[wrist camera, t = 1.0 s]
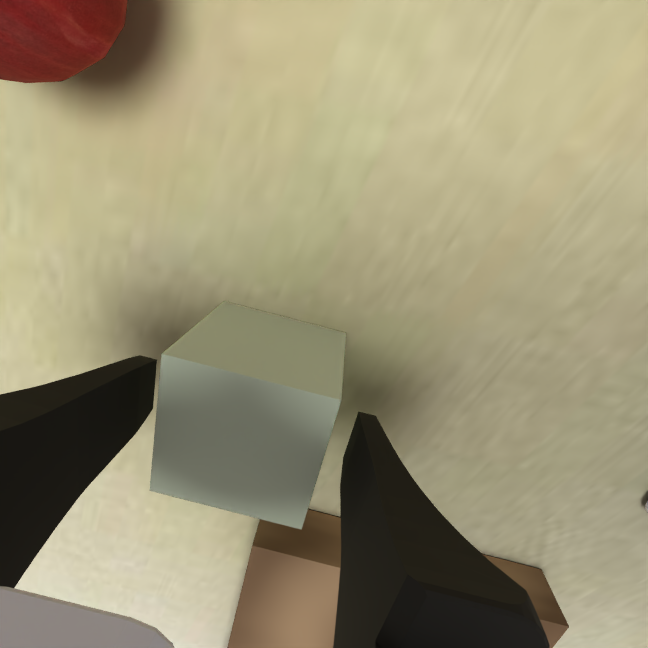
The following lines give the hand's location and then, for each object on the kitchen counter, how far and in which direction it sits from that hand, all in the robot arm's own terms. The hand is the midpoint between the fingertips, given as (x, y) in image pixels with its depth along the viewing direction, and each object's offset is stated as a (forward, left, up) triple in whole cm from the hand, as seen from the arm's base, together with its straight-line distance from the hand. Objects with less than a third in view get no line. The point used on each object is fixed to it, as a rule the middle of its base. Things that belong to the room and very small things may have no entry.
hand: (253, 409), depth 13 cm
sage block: (0, 0, -3) cm, 3 cm away
